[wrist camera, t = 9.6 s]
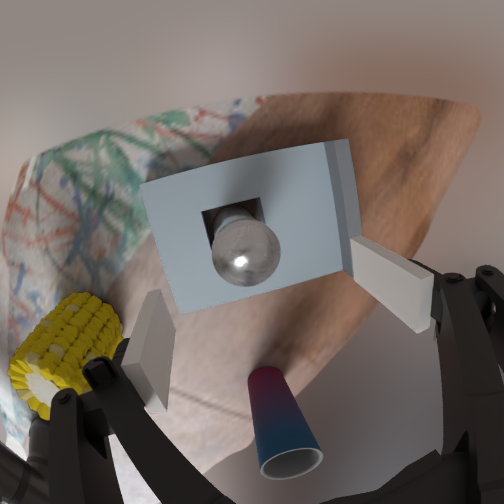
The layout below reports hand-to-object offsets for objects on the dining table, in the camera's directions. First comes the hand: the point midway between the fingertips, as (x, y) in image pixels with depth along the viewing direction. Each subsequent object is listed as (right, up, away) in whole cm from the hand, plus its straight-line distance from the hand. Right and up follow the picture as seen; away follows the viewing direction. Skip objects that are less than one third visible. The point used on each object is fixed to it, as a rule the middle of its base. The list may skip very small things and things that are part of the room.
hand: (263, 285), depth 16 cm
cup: (+1, -16, +22) cm, 27 cm away
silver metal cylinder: (-3, +5, +15) cm, 16 cm away
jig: (-1, +5, +15) cm, 16 cm away
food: (-21, -7, +16) cm, 27 cm away
